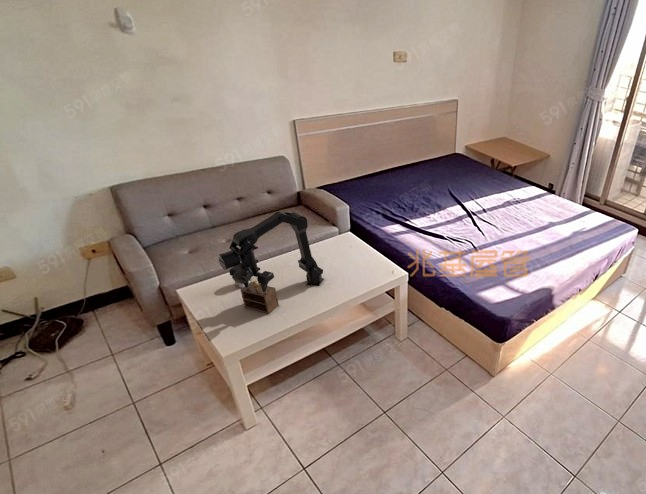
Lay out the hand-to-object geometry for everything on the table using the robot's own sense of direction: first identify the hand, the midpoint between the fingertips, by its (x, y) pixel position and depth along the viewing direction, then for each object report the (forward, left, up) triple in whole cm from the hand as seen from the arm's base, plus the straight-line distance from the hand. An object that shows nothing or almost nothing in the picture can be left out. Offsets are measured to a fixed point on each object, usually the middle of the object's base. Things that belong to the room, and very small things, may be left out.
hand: (255, 289), depth 184 cm
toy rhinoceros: (+16, -18, -11) cm, 27 cm away
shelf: (-1, -4, -3) cm, 6 cm away
